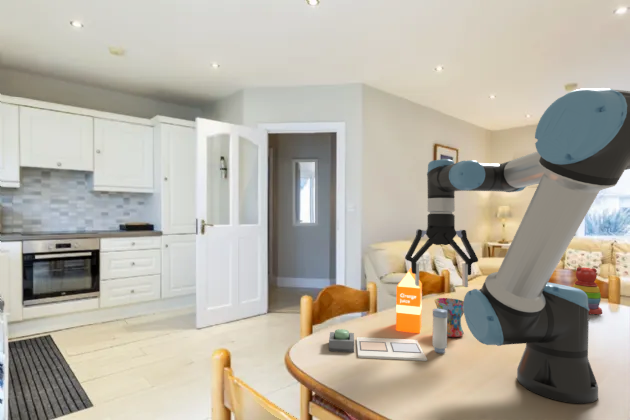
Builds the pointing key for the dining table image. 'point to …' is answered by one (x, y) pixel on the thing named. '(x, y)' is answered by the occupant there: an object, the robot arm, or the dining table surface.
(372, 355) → the sheet
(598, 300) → the stacking bear
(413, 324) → the orange juice
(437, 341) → the cylinder
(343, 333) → the button
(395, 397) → the dining table surface
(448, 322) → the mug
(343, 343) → the button housing
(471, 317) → the robot arm
